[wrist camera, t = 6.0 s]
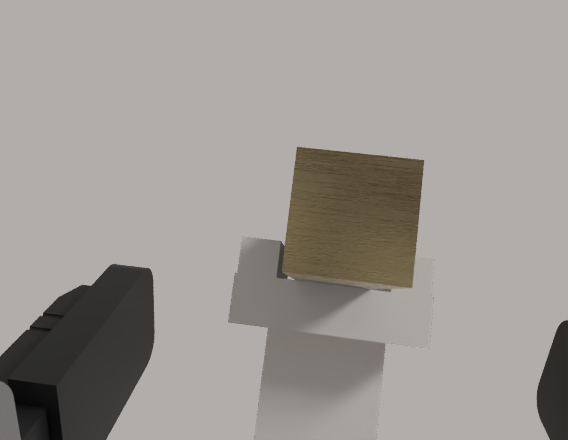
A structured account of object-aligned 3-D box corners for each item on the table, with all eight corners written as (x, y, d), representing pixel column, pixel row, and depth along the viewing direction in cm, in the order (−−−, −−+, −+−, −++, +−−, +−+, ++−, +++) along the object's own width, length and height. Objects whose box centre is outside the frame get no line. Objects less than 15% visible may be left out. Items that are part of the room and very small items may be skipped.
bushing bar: (348, 290, 35) (353, 245, 35) (412, 288, 12) (423, 160, 12) (303, 284, 35) (308, 240, 35) (281, 271, 12) (297, 146, 12)
